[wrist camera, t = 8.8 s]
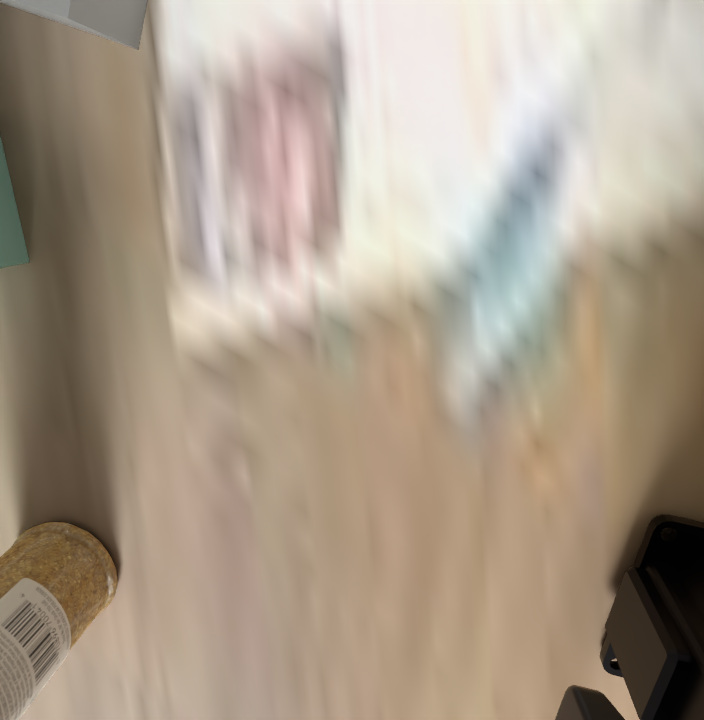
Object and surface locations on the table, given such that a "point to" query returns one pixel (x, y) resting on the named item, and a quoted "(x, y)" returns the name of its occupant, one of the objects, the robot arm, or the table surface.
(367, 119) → the table surface
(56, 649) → the sprinkles bottle
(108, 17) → the grey slab
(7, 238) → the teal block
